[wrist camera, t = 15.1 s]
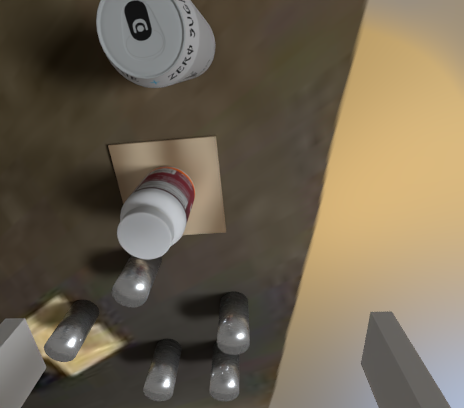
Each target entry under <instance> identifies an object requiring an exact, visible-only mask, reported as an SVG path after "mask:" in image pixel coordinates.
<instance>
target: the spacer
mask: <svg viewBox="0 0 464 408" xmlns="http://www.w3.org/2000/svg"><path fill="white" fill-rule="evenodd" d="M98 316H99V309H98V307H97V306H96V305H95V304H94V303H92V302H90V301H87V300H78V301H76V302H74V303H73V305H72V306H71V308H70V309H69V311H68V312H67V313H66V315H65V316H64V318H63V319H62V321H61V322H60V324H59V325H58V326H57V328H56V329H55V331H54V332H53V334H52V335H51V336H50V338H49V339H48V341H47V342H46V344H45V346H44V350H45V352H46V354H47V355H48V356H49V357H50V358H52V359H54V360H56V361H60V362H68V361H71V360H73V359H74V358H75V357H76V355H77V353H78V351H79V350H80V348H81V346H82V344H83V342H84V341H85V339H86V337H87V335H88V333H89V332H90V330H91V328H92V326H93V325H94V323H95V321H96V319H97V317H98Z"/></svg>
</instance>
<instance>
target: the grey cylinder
mask: <svg viewBox="0 0 464 408" xmlns="http://www.w3.org/2000/svg"><path fill="white" fill-rule="evenodd" d="M210 395H211V396H212V397H213V398H214V399H216V400H219V401H231V400H233V399H235V398H236V397H237V396H238V395H239V354H237V355H230V354H226V353H224V352H222V351H221V350H220V349H219V348H218V346H217V342H216V343H215V344H214V348H213V358H212V369H211V380H210Z"/></svg>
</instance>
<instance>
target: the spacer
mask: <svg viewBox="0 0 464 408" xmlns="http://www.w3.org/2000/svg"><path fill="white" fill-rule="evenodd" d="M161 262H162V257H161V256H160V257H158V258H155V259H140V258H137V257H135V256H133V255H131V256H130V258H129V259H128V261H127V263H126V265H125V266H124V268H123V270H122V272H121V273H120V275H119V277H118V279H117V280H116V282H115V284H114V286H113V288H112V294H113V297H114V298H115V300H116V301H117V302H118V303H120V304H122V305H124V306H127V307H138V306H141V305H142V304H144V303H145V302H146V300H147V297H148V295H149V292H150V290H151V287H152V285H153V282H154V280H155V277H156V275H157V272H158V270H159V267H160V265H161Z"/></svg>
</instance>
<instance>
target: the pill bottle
mask: <svg viewBox="0 0 464 408" xmlns="http://www.w3.org/2000/svg"><path fill="white" fill-rule="evenodd" d="M194 199H195V187H194V184H193V182H192V180H191V178H190V177H189V176H188V175H187V174H186V173H185V172H184V171H182V170H180V169H178V168H176V167H172V166H162V167H158V168H156V169H154V170H152V171H151V172H150V173H149V174H148V175H147V176H146V177H145V178H144V179H143V180H142V182H141V183H140V184H139V185H138V186H137V188H136V189H135V190H134V191H133V192H132V194H131V195H130V196H129V197H128V198H127V200H126V201H125V203H124V205H123V207H122V209H121V213H120V221H121V222H120V223H119V225H118V229H117V236H118V240H119V242H120V244H121V246H122V247H123V248H124V249H125V250H126V251H127V252H128V253H129V254H131V255H133V256H135V257H137V258H140V259H155V258H158V257H160V256H162V255H164V254H165V253H166V252H167V251H168V249H169V248H170V246H172V245H173V244H175V243H176V242H177V241H178V240H179V239H180V238H181V236H182V234H183V232H184V230H185V227H186V224H187V221H188V218H189V215H190V212H191V209H192V205H193V202H194Z"/></svg>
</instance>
